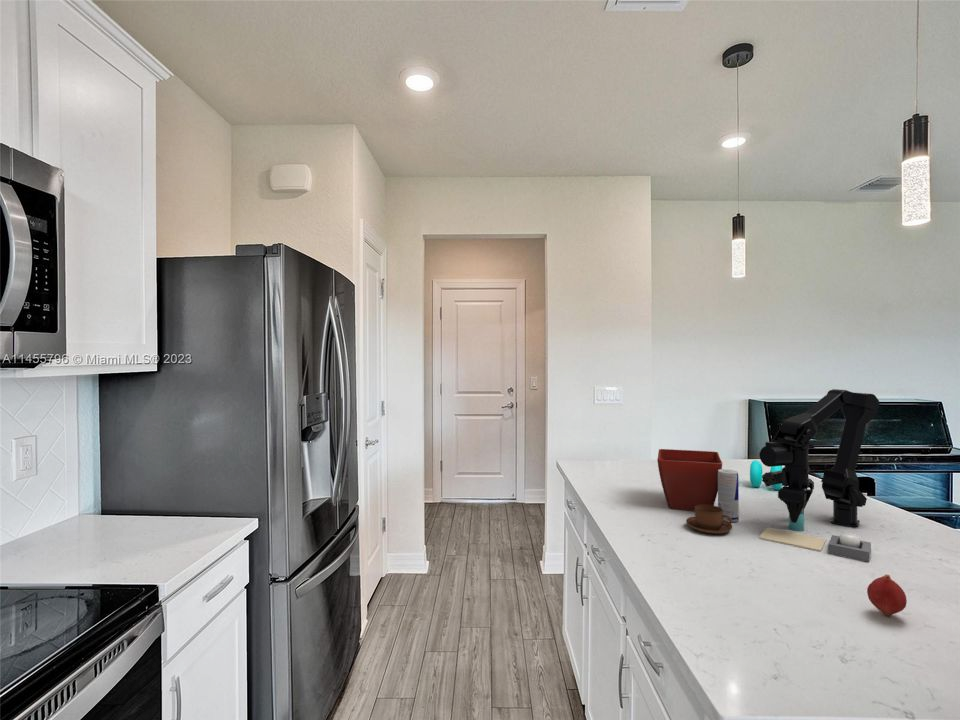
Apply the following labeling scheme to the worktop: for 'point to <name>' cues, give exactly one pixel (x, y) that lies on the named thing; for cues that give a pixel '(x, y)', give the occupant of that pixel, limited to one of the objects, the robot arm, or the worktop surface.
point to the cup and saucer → (709, 520)
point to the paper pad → (793, 539)
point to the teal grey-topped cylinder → (797, 523)
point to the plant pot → (689, 477)
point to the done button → (850, 540)
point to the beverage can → (728, 493)
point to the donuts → (757, 474)
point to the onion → (886, 595)
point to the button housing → (849, 549)
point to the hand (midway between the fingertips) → (796, 518)
